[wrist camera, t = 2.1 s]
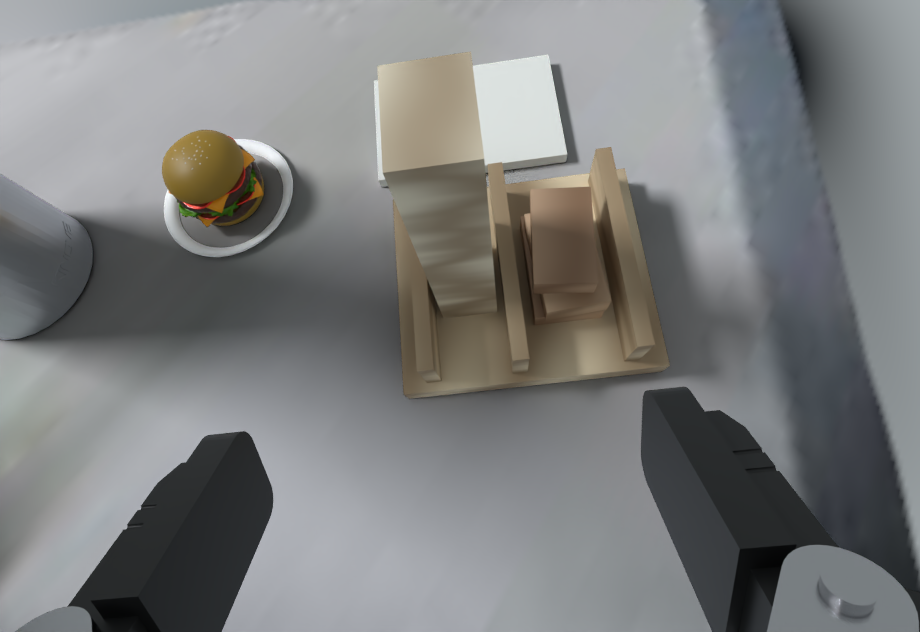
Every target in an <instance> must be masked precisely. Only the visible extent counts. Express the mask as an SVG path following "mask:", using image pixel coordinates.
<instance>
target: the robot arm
mask: <svg viewBox="0 0 920 632" xmlns="http://www.w3.org/2000/svg"><path fill="white" fill-rule="evenodd" d="M92 261H93V249H92V244H91V239H90V237H89V235H88V233H87V231H86V229H85V228H84V227H83V226H82V225H81V224H80V223H79V221H77V220H76V219H74V218H72V217H71V216H69V215H67V214H66V213H64V212H62V211H61V210H59V209H57V208H56V207H54V206H53V205H51V204H49V203H48V202H46V201H44V200H43V199H41V198H39V197H38V196H36V195H34V194H33V193H31V192H29V191H28V190H26V189H25V188H23V187H22V186H20V185H18V184H17V183H15V182H13V181H12V180H10V179H8V178H7V177H5V176H3V175H2V174H0V339H1V340H10V339H19V338H23V337H26V336H29V335H32V334H35V333H37V332H39V331H41V330H43V329H45V328H46V327H48V326H50V325H51V324H52V323H54V322H55V321H56V320H58V319H59V318H60V317H62V316H63V315H64V314H65V313H66V312H67V311H68V310H69V309H70V307H71V306H72V305H73V304H74V303H75V301H76V300H77V299H78V297H79V296H80V294H81V293H82V291H83V289H84V287H85V285H86V283H87V281H88V279H89V275H90V271H91V268H92ZM641 459H642V466H643V471H644V475H645V478H646V481H647V484H648V486H649V488H650V491H651V493H652V495H653V498H654V500H655V502H656V504H657V507H658V509H659V511H660V514H661V516H662V518H663V520H664V523H665V525H666V527H667V529H668V532H669V534H670V536H671V539H672V541H673V543H674V545H675V548H676V550H677V552H678V555H679V557H680V559H681V561H682V564H683V566H684V568H685V570H686V573H687V575H688V577H689V580H690V582H691V584H692V586H693V589H694V591H695V593H696V596H697V598H698V600H699V602H700V605H701V607H702V609H703V611H704V614H705V616H706V618H707V621H708V623H709V625H710V627H711V630H712V632H920V592H916V591H912V590H909V589H906V588H903V587H902V585H901V584H900V583H899V582H898V581H897V580H896V579H895V578H894V577H893V576H891V575H890V574H889V573H888V572H886V571H885V570H884V569H883V568H881V567H880V566H878V565H876V564H875V563H873V562H872V561H870V560H868V559H866V558H864V557H862V556H860V555H858V554H856V553H853V552H851V551H848V550H845V549H842V548H839V547H838V546H837V545H836V543H835V542H834V541H833V540H832V538H831V537H830V536H829V535H828V533H827V532H826V531H825V529H824V528H823V527H822V526H821V524H820V523H819V522H818V520H817V519H816V518H815V517H814V515H813V514H812V513H811V511H810V510H809V509H808V508H807V506H806V505H805V504H804V502H803V501H802V500H801V499H800V497H799V496H798V495H797V493H796V492H795V491H794V489H793V488H792V487H791V486H790V484H789V483H788V482H787V480H786V479H785V478H784V477H783V475H782V474H781V473H780V471H776V468H775V465H774V464H773V462H772V461H771V460H770V459H769V457H768V456H767V455H766V453H763V452H762V450H761V447H760V446H759V444H758V443H757V442H756V441H755V439H754V438H753V437H752V435H751V434H750V433H749V431H748V430H747V429H746V428H745V427H744V426H743V425H741V424H740V423H738V422H737V421H735V420H734V419H732V418H731V417H729V416H728V415H726V414H725V413H723V412H722V411H720V410H717V411H707V412H705V411H704V410H703V408H702V407H701V406H700V404H699V403H698V401H697V400H696V398H695V397H694V396H693V394H692V393H691V391H690V390H689V389H688V388H687V387H677V388H668V389H658V390H649V391H645V393H644V396H643V409H642V435H641ZM272 508H273V491H272V487H271V484H270V481H269V479H268V476H267V474H266V471H265V469H264V466H263V464H262V461H261V459H260V457H259V454H258V452H257V449H256V447H255V444H254V442H253V439H252V437H251V436H250V435H249V434H248V433H247V432H244V431H243V432H234V433H224V434H214V435H208V436H206V437H204V438H203V439H202V440H201V442H200V443H199V445H198V446H197V447H196V449H195V450H194V452H193V453H192V455H191V456H190V458H189V459H188V460H187V462H186V463H181V464H180V465H178V466H177V467H176V468H175V469H174V470H173V471H171V472H170V473H169V474H168V475H167V476H166V477H164V478H163V479H162V480H161V481H160V482H158V483H157V485H156V486H155V487H154V489H153V490H152V491H151V493H150V494H149V496H148V497H147V498H146V500H145V501H144V502H143V504H142V505H141V510H138V511H137V512H136V513H135V515H134V516H133V518H132V519H131V520H130V522H129V523H128V524H127V525H128V528H127V529H126V530H123V531H122V533H121V534H120V535H119V537H118V538H117V540H116V541H115V542H114V544H113V545H112V546H111V548H110V549H109V550H108V552H107V553H106V555H105V556H104V557H103V559H102V560H101V561H100V563H99V564H98V566H97V567H96V568H95V570H94V571H93V572H92V574H91V575H90V577H89V578H88V579H87V581H86V582H85V583H84V585H83V586H82V588H81V589H80V590H79V592H78V593H77V594H76V596H75V597H74V599H73V600H72V601H71V603H70V604H69V605H68V606H67V607H62V608H59V609H55V610H52V611H50V612H47V613H45V614H43V615H41V616H39V617H37V618H35V619H33V620H32V621H30V622H28V623H27V624H25V625H24V626H22V627H21V628H19V629H18V630H17V631H15V632H222V629H223V627H224V625H225V622H226V620H227V618H228V615H229V613H230V611H231V608H232V606H233V603H234V601H235V599H236V596H237V594H238V592H239V589H240V587H241V585H242V582H243V580H244V578H245V575H246V573H247V571H248V568H249V566H250V564H251V561H252V559H253V556H254V554H255V552H256V549H257V547H258V545H259V542H260V540H261V538H262V535H263V533H264V531H265V528H266V526H267V524H268V521H269V519H270V516H271V513H272Z"/></svg>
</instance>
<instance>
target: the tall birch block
mask: <svg viewBox="0 0 920 632" xmlns="http://www.w3.org/2000/svg"><path fill="white" fill-rule="evenodd" d="M377 68H378V88H379V109H380V129H381V150H382V170H383V175H384V177H385V180H386V182H387V184H388V187H389V189H390V192H391V194H392V196H393V199H394V201H395V203H396V206H397V208H398V211H399V213H400V215H401V218H402V220H403V223H404V225H405V227H406V230H407V232H408V234H409V237H410V239H411V242H412V244H413V246H414V249H415V251H416V253H417V256H418V258H419V261H420V263H421V265H422V268H423V270H424V272H425V275H426V277H427V280H428V282H429V284H430V287H431V289H432V291H433V294H434V296H435V299H436V301H437V303H438V306H439V308H440V311H441V313H442V315H443V318H452V317H461V316H469V315H478V314H486V313H495V312H497V301H496V289H495V278H494V266H493V254H492V243H491V231H490V219H489V208H488V196H487V184H486V172H485V161H484V152H483V144H482V136H481V128H480V120H479V112H478V104H477V97H476V89H475V81H474V73H473V65H472V57H471V52H465V53H458V54H452V55H445V56H439V57H432V58H426V59H419V60H412V61H406V62H399V63H393V64H386V65H379V66H377Z"/></svg>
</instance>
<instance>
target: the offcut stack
mask: <svg viewBox="0 0 920 632" xmlns="http://www.w3.org/2000/svg"><path fill="white" fill-rule="evenodd" d="M520 230H521V237H522V244H523V251H524V258H525V265H526V272H527V279H528V285H529V292H530V299H531V306H532V313H533V320H534V325H542V324H550V323H559V322H568V321H576V320H585V319H593V318H601V317H602V315H603V313H604V311H605V310H606V309H607V308H608V307H609V305H610V303H611V301H612V300H611V297H610V293H609V289H608V286H607V282H606V279H605V275H604V271H603V268H602V264H601V261H600V257H599V253H598V250H597V246H596V243H595V235H594V222H593V209H592V196H591V187H569V188H545V189H531V191H530V213H529V214H524V216H520Z"/></svg>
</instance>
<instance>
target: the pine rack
mask: <svg viewBox="0 0 920 632" xmlns="http://www.w3.org/2000/svg"><path fill="white" fill-rule="evenodd" d="M488 177H489V187H487V196H488V208H489V219H490V231H491V243H492V254H493V266H494V278H495V289H496V301H497V312H495V313H486V314H478V315H469V316H461V317H452V318H443V315H442V313H441V311H440V308H439V306H438V303H437V301H436V299H435V296H434V294H433V291H432V289H431V287H430V284H429V282H428V280H427V277H426V275H425V272H424V270H423V268H422V265H421V263H420V261H419V258H418V256H417V253H416V251H415V249H414V246H413V244H412V242H411V239H410V237H409V234H408V232H407V230H406V227H405V225H404V223H403V220H402V218H401V215H400V213H399V211H398V208H397V206H396V203H395V201H394V199H393V211H394V229H395V247H396V265H397V283H398V301H399V319H400V337H401V356H402V374H403V392H404V395H405V396H406V397H407V398H409V399H412V398H422V397H431V396H440V395H450V394H459V393H468V392H477V391H487V390H496V389H505V388H514V387H524V386H533V385H542V384H551V383H561V382H570V381H579V380H589V379H598V378H607V377H616V376H626V375H635V374H644V373H653V372H662V371H663V370H665V369H666V368H667V367H669V366H670V364H669V359H668V355H667V351H666V346H665V342H664V337H663V333H662V329H661V324H660V320H659V316H658V311H657V307H656V303H655V298H654V294H653V290H652V285H651V281H650V277H649V272H648V268H647V263H646V259H645V255H644V250H643V246H642V242H641V237H640V233H639V229H638V224H637V220H636V216H635V211H634V207H633V203H632V198H631V194H630V189H629V185H628V181H627V176H626V172H625V168H624V169H617V170H616V167H615V163H614V158H613V154H612V149H611V147H608V148H601V149H596V151H595V155H594V159H593V163H592V167H591V171H590V173H587V174H580V175H572V176H565V177H557V178H550V179H542V180H535V181H527V182H520V183H512V184H505V179H504V172H503V165H502V162H499V163H492V164H488ZM569 187H591V196H592V209H593V222H594V235H595V243H596V246H597V250H598V253H599V257H600V261H601V264H602V268H603V271H604V275H605V279H606V282H607V286H608V289H609V293H610V297H611V300H612V301H611V303H610V305H609V307H608V308H607V309H606V310H605V311H604V313H603V315H602V317H601V318H593V319H585V320H576V321H568V322H559V323H550V324H542V325H534V320H533V313H532V306H531V299H530V292H529V285H528V279H527V272H526V265H525V258H524V251H523V244H522V237H521V230H520V216H524V214H529V213H530V191H531V189H545V188H569Z"/></svg>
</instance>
